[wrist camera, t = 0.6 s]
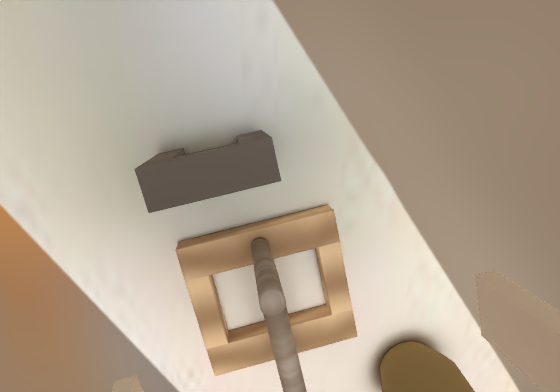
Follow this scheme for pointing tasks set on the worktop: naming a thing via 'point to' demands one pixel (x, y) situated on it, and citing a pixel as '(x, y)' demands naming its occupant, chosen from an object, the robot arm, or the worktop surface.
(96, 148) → the worktop surface
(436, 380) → the squeeze bottle
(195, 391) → the worktop surface
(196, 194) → the grey notched block
